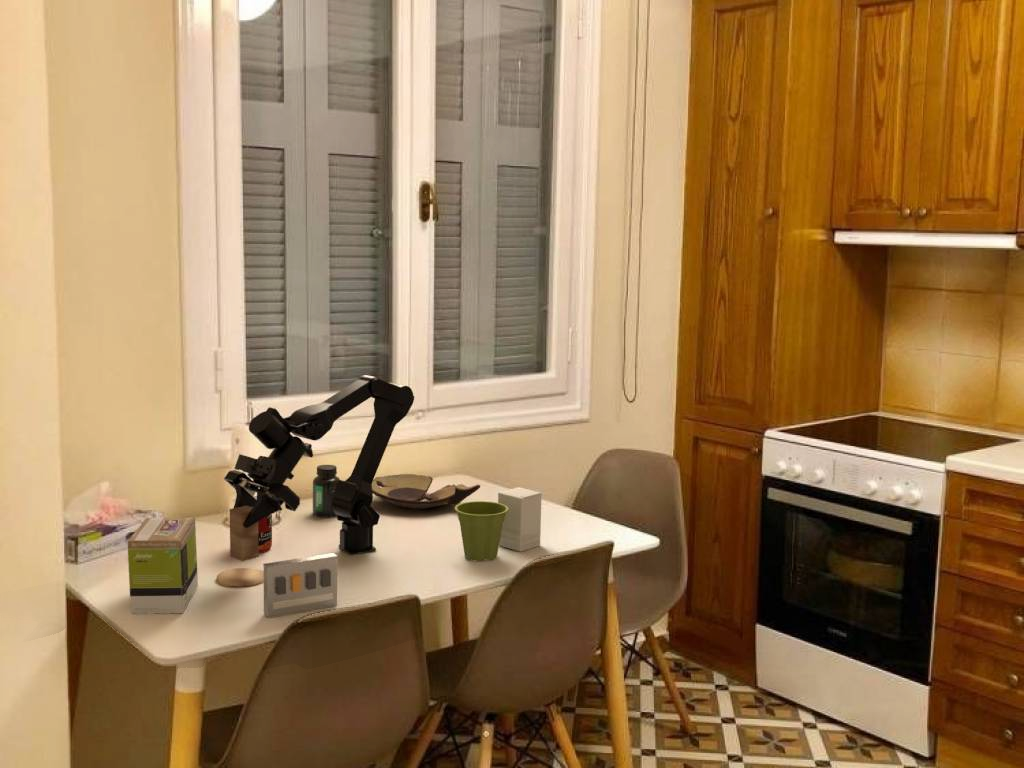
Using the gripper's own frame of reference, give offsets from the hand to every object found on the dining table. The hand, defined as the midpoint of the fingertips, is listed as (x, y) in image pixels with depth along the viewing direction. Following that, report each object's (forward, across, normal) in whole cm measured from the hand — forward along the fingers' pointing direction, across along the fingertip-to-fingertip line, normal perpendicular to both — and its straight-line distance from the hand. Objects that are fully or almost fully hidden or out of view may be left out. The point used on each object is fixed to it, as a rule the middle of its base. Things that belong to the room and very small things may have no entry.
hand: (238, 524), depth 226 cm
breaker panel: (+9, +21, +8) cm, 24 cm away
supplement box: (-33, +24, +52) cm, 66 cm away
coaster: (+7, -2, +10) cm, 13 cm away
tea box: (+20, -2, -2) cm, 20 cm away
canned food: (-2, -16, +20) cm, 26 cm away
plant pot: (-24, +23, +43) cm, 54 cm away
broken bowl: (-38, -15, +56) cm, 70 cm away
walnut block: (+4, 0, +6) cm, 7 cm away
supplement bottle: (-22, -26, +41) cm, 53 cm away
